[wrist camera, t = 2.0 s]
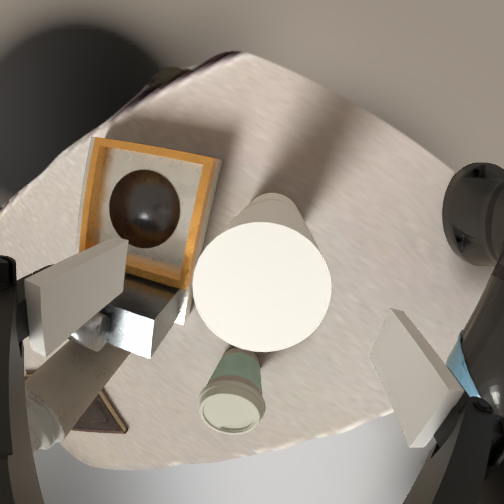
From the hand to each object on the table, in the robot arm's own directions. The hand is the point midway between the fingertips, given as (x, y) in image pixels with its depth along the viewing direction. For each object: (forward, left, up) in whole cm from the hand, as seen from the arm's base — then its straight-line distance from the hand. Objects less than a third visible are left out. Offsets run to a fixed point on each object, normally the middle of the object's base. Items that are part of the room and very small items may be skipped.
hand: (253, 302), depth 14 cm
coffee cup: (-1, +22, -27) cm, 35 cm away
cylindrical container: (0, 0, -27) cm, 27 cm away
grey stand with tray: (+17, +5, -27) cm, 32 cm away
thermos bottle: (+20, +24, -27) cm, 41 cm away
